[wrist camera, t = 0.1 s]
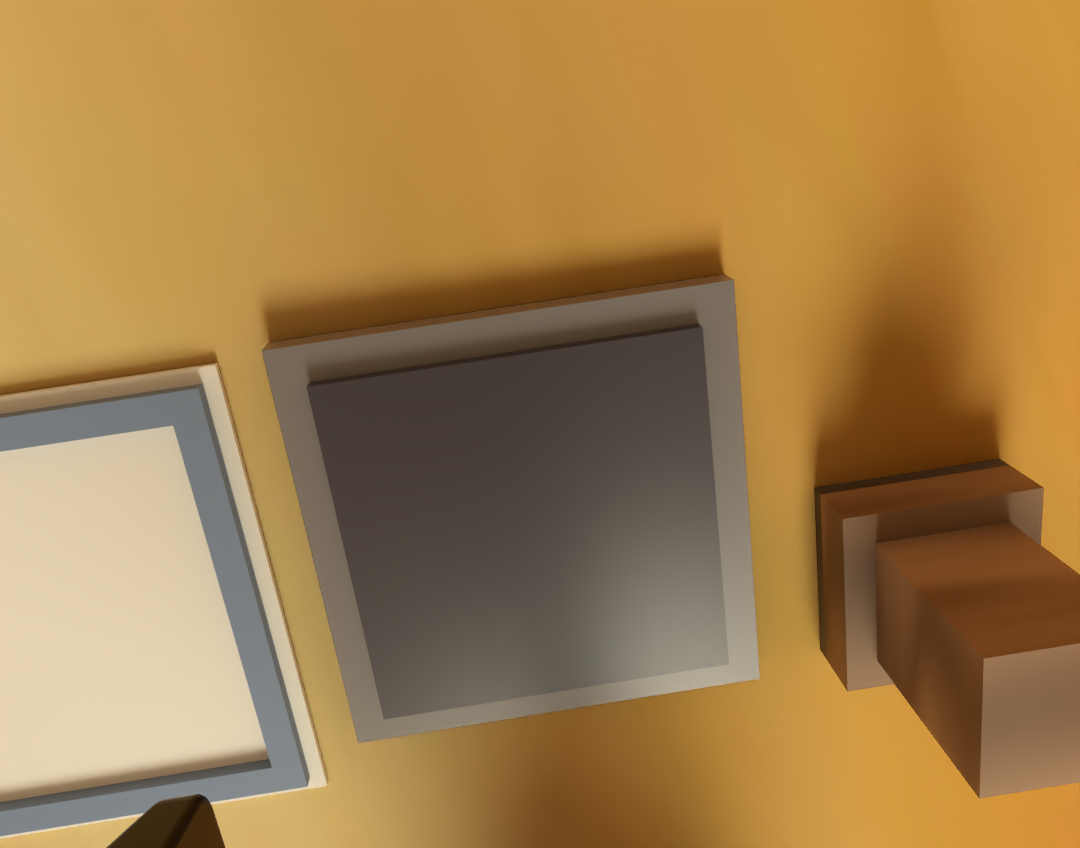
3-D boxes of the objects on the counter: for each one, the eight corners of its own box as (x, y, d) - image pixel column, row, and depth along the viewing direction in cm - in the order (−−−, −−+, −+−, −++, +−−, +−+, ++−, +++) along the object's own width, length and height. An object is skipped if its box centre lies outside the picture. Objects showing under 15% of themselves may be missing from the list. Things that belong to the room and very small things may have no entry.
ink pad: (751, 661, 25) (764, 687, 24) (361, 723, 25) (356, 753, 24) (724, 274, 22) (738, 283, 21) (269, 342, 22) (257, 355, 20)
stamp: (993, 621, 26) (1173, 796, 19) (820, 648, 26) (940, 835, 19) (998, 458, 24) (1198, 589, 17) (813, 486, 24) (944, 629, 17)
